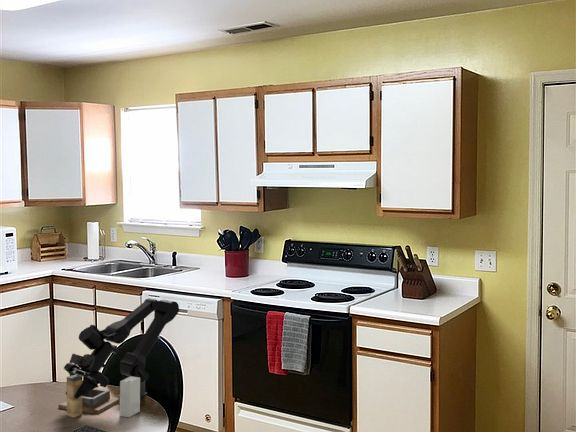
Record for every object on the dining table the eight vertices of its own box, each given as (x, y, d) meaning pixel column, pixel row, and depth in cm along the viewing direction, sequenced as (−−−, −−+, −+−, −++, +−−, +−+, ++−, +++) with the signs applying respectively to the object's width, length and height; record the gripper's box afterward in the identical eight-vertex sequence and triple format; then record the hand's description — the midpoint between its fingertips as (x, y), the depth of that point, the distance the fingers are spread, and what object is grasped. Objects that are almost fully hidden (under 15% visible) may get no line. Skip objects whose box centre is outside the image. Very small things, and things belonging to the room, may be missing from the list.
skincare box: (129, 410, 225) (129, 375, 224) (140, 412, 223) (140, 377, 222) (118, 416, 219) (118, 380, 218) (130, 418, 217) (130, 382, 217)
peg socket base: (119, 401, 233) (119, 390, 233) (98, 413, 221) (98, 401, 220) (81, 396, 238) (81, 385, 238) (58, 408, 226) (58, 396, 225)
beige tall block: (75, 412, 222) (75, 374, 221) (82, 414, 220) (82, 376, 219) (66, 415, 219) (66, 376, 218) (73, 417, 217) (72, 379, 216)
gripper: (68, 339, 227) (39, 378, 219) (101, 348, 216) (72, 389, 208) (87, 357, 234) (60, 395, 226) (120, 367, 222) (93, 407, 214)
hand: (70, 396), depth 218 cm, fingers open, 5 cm apart
